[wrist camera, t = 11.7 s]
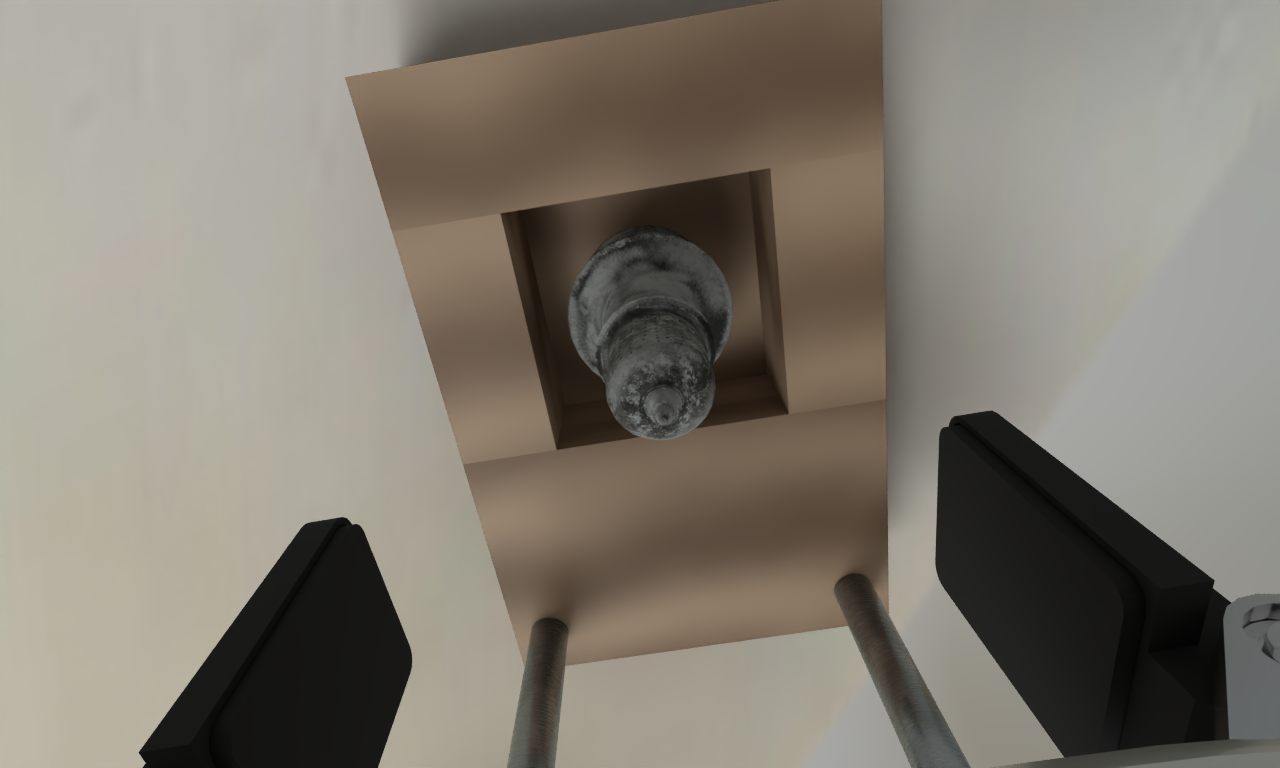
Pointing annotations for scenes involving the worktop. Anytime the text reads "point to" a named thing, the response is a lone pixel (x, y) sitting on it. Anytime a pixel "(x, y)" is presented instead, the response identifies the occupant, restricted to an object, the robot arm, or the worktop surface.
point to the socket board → (760, 333)
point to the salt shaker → (652, 328)
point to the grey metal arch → (872, 629)
